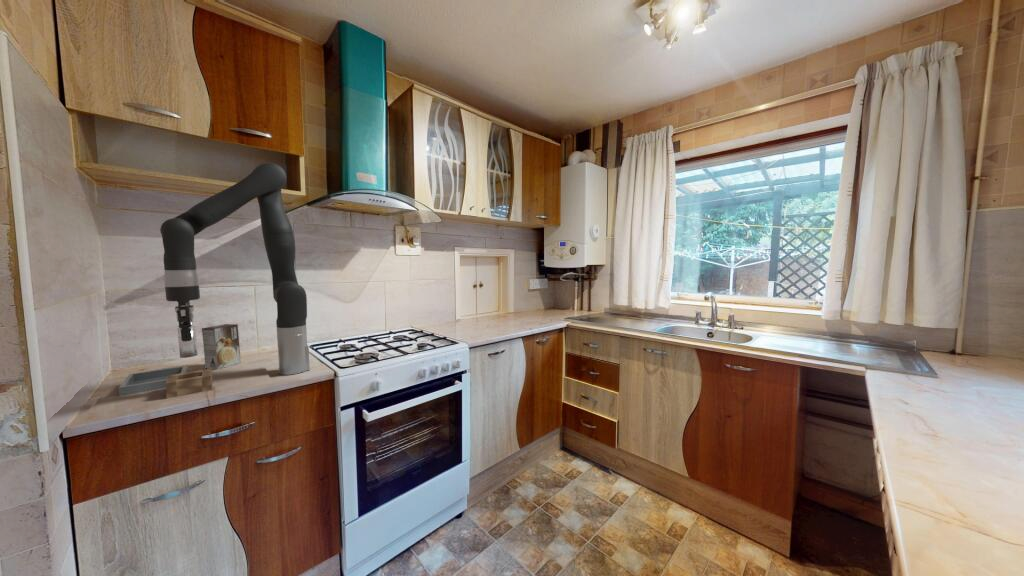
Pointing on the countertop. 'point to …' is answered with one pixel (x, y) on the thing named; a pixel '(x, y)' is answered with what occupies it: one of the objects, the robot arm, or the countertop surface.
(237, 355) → the coffee box
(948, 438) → the countertop surface
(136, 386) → the tray
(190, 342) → the pin
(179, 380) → the pin block
